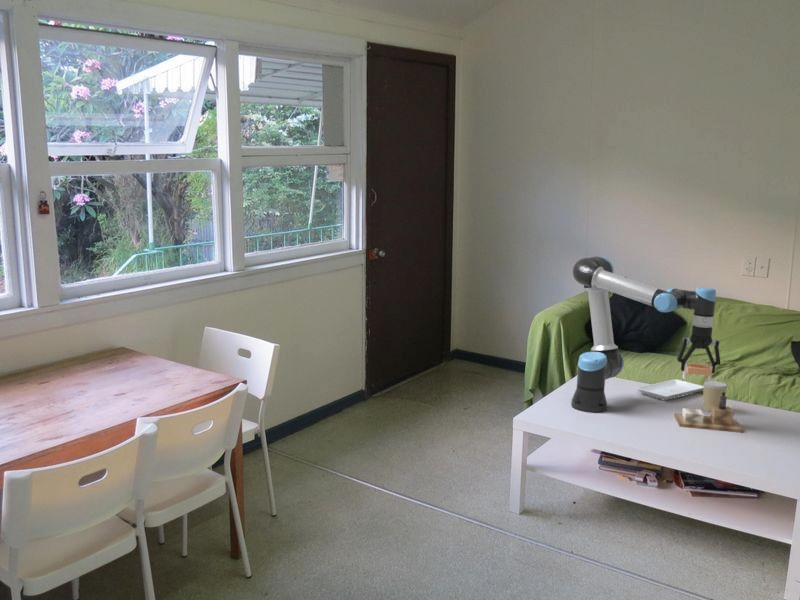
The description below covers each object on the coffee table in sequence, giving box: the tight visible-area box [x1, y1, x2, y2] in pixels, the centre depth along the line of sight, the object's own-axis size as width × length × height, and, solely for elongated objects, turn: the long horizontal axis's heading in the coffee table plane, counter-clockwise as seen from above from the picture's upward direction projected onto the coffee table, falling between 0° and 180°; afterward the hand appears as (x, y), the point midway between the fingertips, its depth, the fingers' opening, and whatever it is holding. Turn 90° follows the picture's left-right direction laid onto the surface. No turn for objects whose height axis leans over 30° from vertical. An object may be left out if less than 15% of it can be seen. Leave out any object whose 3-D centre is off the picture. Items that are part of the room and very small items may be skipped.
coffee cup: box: [702, 380, 727, 413], centre depth 319 cm, size 9×9×12 cm
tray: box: [635, 378, 704, 401], centre depth 343 cm, size 17×31×4 cm, turn 126°
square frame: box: [686, 362, 713, 377], centre depth 298 cm, size 9×9×2 cm
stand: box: [673, 395, 744, 433], centre depth 300 cm, size 24×14×12 cm, turn 78°
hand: (696, 379), depth 299 cm, fingers closed on square frame, 9 cm apart
